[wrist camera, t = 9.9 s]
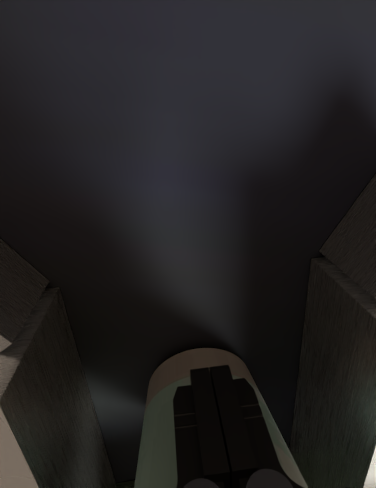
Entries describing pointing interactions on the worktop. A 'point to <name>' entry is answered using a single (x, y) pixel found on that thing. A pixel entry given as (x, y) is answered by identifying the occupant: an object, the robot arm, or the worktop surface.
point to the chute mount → (308, 384)
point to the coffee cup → (162, 417)
